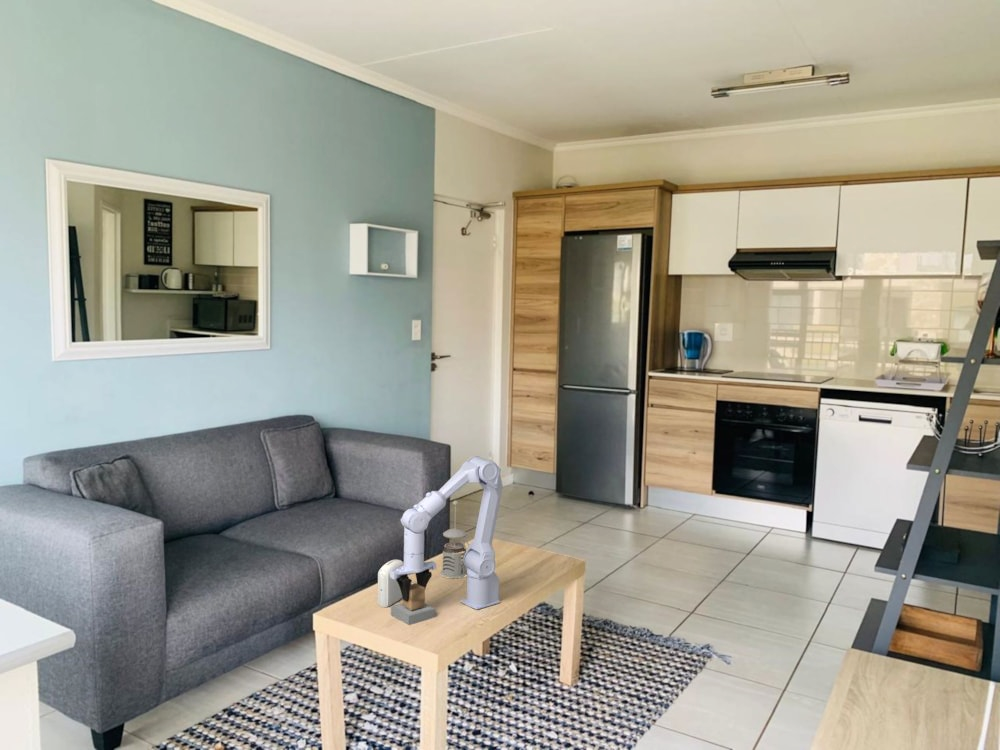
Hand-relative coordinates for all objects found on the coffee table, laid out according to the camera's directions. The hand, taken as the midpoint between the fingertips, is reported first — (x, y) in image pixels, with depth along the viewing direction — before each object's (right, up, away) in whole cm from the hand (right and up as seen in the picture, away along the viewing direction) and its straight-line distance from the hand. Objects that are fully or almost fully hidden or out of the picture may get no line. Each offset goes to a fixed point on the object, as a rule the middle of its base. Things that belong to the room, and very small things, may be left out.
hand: (413, 598), depth 212 cm
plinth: (0, -5, 0) cm, 5 cm away
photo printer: (-8, -5, +11) cm, 14 cm away
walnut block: (0, -2, 0) cm, 2 cm away
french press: (+10, -3, +36) cm, 37 cm away
